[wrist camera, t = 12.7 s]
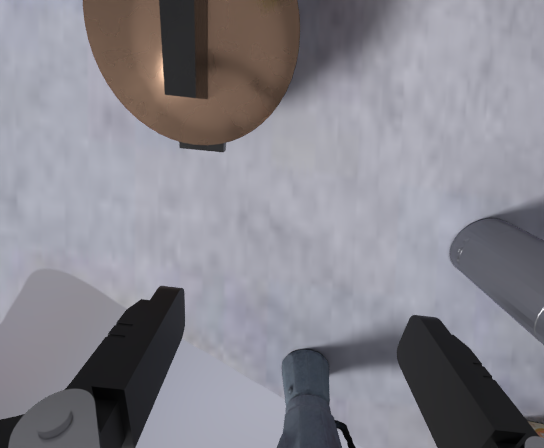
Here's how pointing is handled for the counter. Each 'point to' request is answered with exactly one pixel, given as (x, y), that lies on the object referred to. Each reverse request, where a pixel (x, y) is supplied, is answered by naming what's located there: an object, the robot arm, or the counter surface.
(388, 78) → the counter surface
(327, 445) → the moka pot
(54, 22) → the counter surface
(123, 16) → the lid
